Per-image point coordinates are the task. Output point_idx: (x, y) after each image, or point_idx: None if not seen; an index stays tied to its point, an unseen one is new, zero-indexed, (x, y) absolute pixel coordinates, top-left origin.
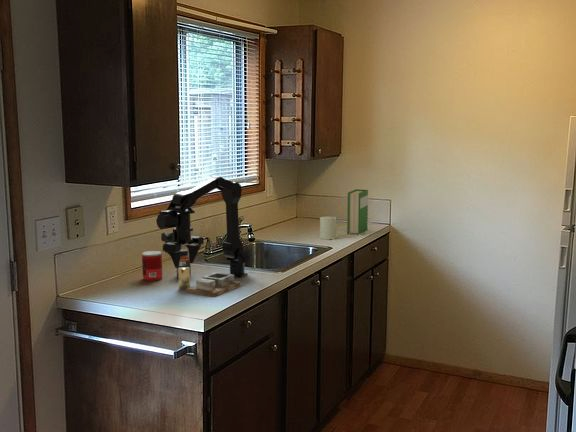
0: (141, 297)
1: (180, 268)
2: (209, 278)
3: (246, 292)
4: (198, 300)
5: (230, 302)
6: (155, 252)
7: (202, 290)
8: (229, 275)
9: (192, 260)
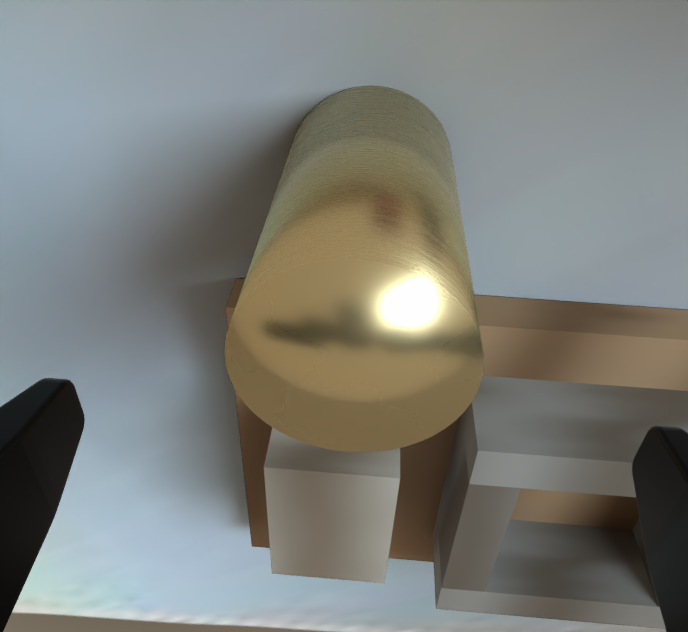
0: None
1: (309, 314)
2: (459, 516)
3: (466, 613)
4: (97, 470)
5: (204, 608)
6: None
7: (251, 462)
8: (636, 613)
9: (647, 540)
